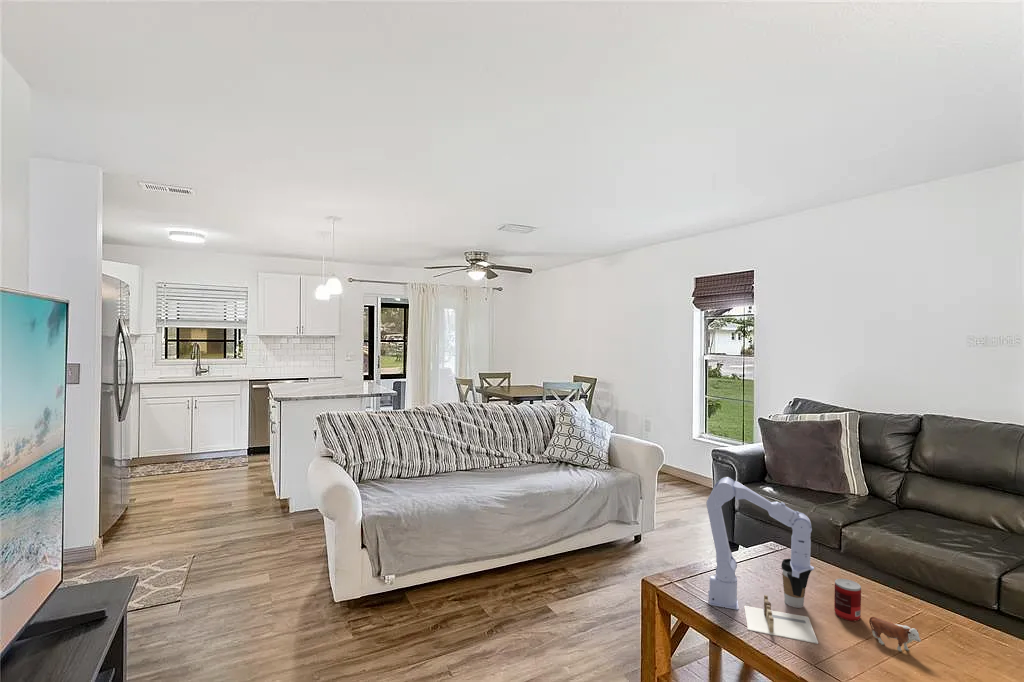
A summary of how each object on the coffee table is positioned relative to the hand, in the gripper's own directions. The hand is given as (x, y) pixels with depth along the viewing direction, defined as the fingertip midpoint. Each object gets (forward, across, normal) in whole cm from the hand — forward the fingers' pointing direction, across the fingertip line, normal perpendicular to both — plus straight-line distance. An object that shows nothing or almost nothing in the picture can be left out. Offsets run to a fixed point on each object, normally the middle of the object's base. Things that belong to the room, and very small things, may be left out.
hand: (799, 591), depth 172 cm
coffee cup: (+10, +11, +4) cm, 16 cm away
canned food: (+10, +15, -12) cm, 22 cm away
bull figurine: (+10, +3, -26) cm, 28 cm away
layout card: (+10, -7, +4) cm, 13 cm away
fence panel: (+9, -10, +6) cm, 15 cm away
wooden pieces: (+10, -2, +9) cm, 14 cm away
